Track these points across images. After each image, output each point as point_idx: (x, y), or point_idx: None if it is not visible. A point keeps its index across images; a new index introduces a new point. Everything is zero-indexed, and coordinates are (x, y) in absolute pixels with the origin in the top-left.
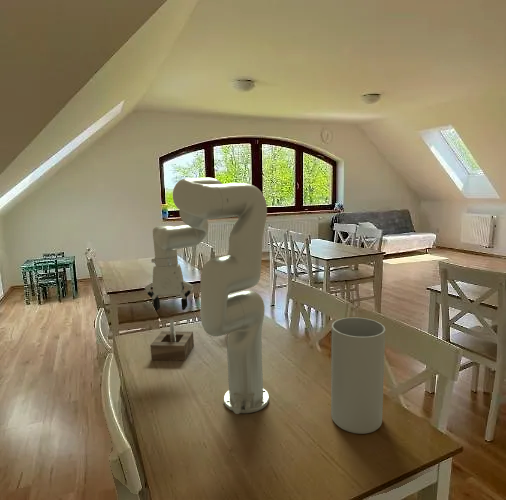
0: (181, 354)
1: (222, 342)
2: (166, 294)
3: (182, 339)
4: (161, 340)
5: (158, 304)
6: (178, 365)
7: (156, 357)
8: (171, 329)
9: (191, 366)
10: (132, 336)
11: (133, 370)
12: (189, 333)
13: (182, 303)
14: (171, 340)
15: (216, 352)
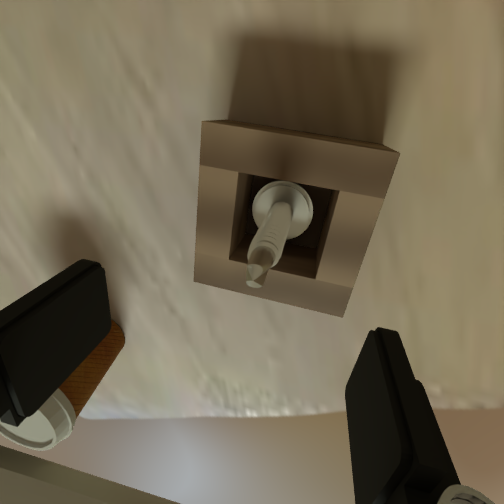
0: (233, 122)
1: (122, 256)
2: (118, 501)
3: (225, 203)
4: (335, 209)
5: (362, 408)
6: (249, 70)
7: (359, 141)
8: (269, 235)
9: (190, 54)
10: (475, 382)
11: (482, 24)
12: (205, 265)
13: (33, 300)
14: (283, 214)
15: (122, 179)
